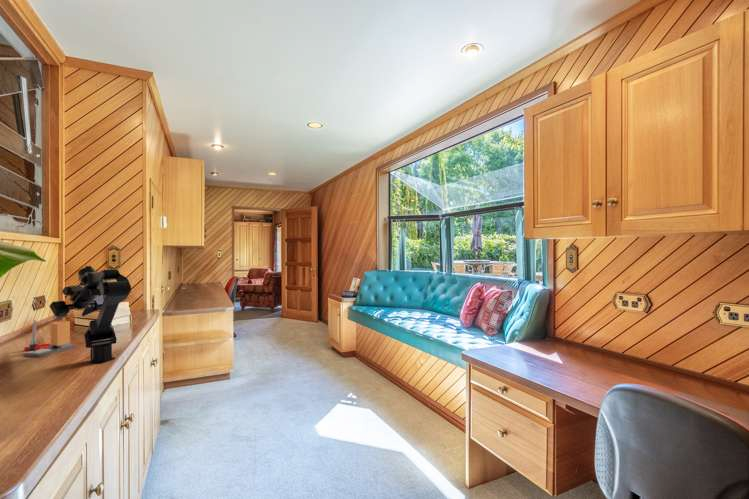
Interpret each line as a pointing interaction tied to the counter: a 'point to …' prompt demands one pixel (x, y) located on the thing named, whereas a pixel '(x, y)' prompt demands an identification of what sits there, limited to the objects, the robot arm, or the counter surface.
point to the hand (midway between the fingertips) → (70, 317)
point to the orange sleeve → (60, 333)
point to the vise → (49, 350)
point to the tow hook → (33, 341)
